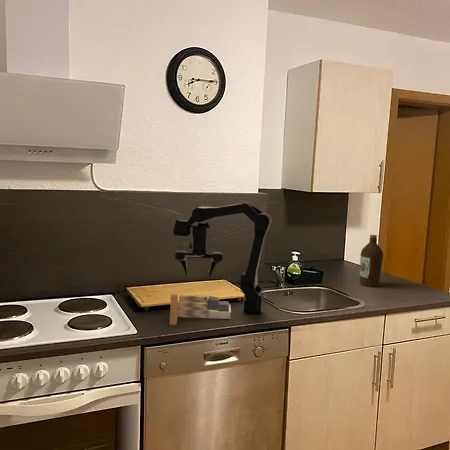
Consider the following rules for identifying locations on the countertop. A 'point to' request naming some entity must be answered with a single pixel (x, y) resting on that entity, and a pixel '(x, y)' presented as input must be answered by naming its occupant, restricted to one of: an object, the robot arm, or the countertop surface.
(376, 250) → the olive oil
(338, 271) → the countertop surface
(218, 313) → the tray
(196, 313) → the rail
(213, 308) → the grey cube
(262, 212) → the robot arm
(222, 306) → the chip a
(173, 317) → the rake tool
